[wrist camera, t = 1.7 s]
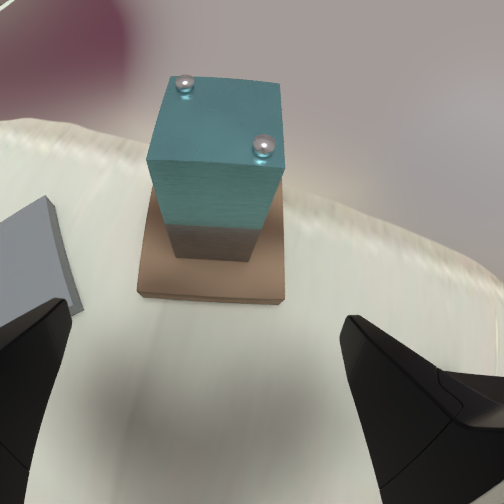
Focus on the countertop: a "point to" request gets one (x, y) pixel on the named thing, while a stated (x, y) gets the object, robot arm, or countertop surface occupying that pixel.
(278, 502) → the countertop surface
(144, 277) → the stand
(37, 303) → the stand
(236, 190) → the block
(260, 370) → the countertop surface
